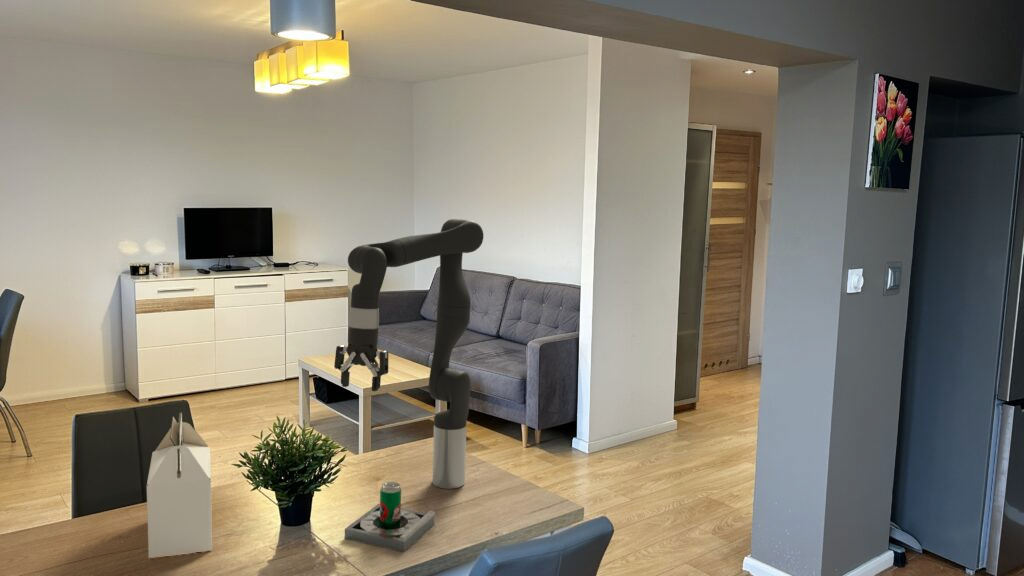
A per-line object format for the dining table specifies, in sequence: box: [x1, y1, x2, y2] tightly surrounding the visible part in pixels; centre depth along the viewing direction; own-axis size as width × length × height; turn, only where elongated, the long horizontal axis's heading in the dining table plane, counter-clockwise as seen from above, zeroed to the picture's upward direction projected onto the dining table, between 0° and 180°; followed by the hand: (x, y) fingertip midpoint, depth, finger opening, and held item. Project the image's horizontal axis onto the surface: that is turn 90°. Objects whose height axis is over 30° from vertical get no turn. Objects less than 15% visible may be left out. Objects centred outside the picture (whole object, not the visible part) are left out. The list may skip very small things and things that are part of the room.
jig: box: [344, 503, 435, 553], centre depth 193 cm, size 16×16×4 cm
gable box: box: [146, 412, 213, 558], centre depth 185 cm, size 22×13×28 cm, turn 21°
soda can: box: [378, 481, 402, 530], centre depth 192 cm, size 5×5×12 cm
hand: (360, 388), depth 200 cm, fingers open, 8 cm apart
